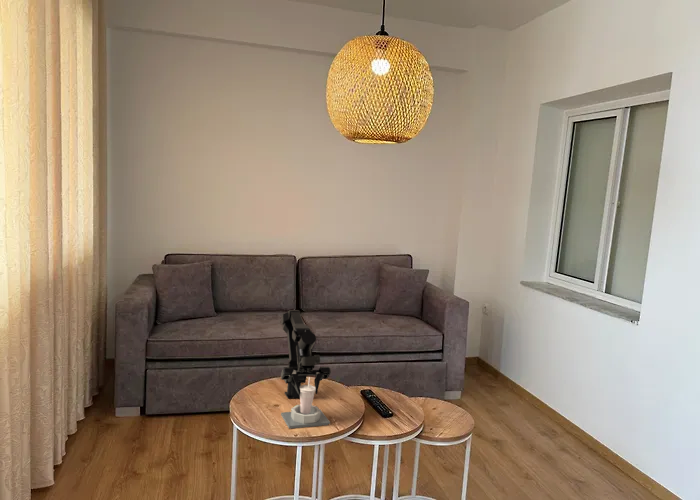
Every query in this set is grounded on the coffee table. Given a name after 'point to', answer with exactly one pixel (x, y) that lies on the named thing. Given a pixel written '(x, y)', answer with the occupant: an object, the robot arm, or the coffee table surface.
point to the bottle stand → (304, 418)
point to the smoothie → (306, 397)
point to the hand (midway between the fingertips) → (307, 394)
